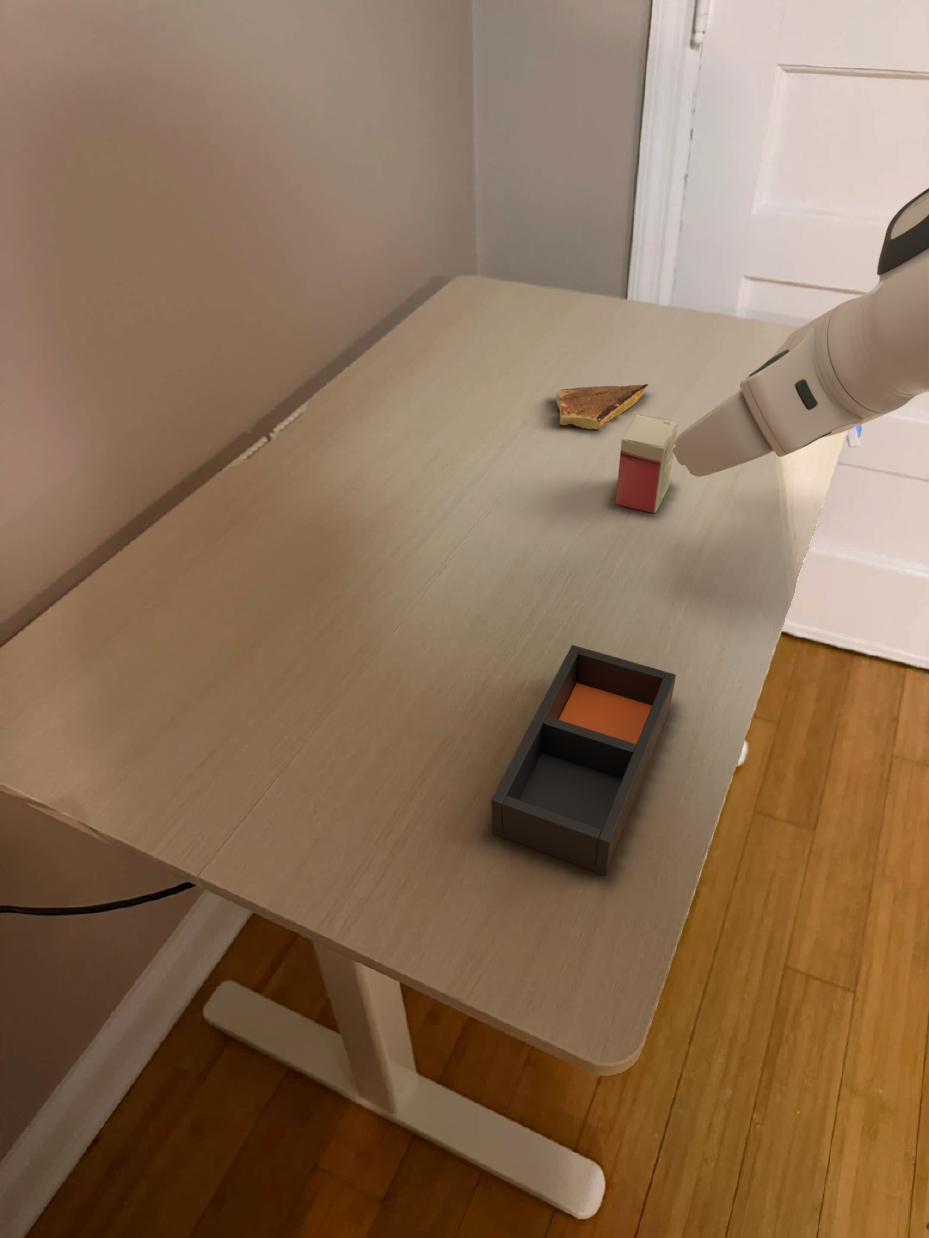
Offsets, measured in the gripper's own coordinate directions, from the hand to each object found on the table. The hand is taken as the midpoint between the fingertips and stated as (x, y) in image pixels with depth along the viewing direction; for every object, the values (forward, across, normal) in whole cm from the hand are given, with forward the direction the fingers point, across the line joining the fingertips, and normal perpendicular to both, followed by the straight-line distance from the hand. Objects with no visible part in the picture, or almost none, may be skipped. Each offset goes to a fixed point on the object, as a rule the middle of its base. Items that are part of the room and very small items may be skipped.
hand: (714, 433), depth 80 cm
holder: (-2, +30, +16) cm, 34 cm away
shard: (+23, -9, -8) cm, 26 cm away
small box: (+12, 0, +3) cm, 12 cm away
